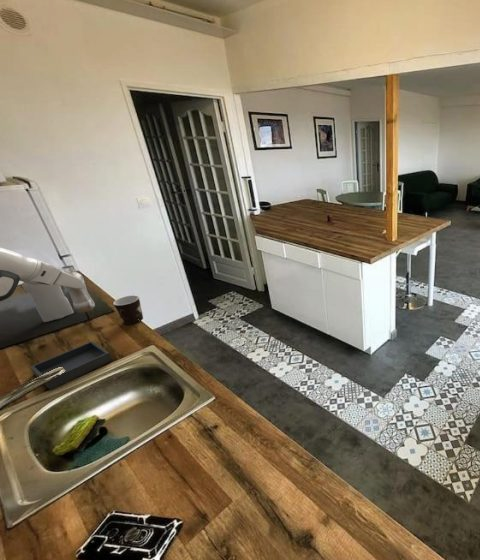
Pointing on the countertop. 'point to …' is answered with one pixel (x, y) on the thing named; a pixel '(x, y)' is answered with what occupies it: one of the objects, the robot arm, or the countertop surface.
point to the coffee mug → (129, 309)
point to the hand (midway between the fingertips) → (78, 285)
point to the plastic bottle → (79, 292)
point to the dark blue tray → (73, 363)
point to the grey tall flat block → (49, 301)
